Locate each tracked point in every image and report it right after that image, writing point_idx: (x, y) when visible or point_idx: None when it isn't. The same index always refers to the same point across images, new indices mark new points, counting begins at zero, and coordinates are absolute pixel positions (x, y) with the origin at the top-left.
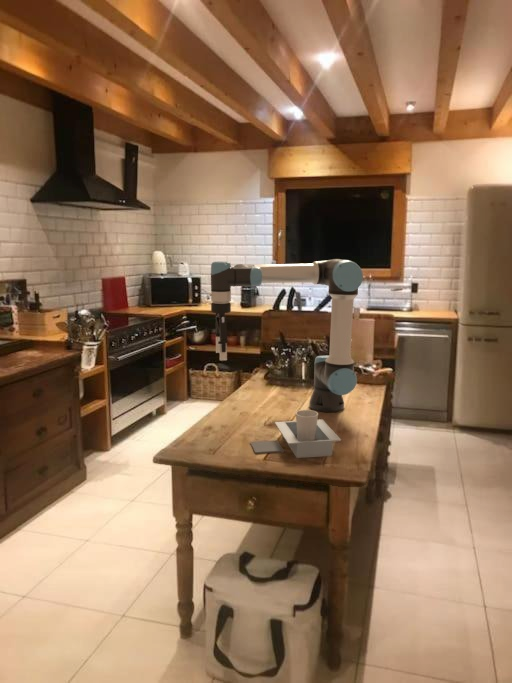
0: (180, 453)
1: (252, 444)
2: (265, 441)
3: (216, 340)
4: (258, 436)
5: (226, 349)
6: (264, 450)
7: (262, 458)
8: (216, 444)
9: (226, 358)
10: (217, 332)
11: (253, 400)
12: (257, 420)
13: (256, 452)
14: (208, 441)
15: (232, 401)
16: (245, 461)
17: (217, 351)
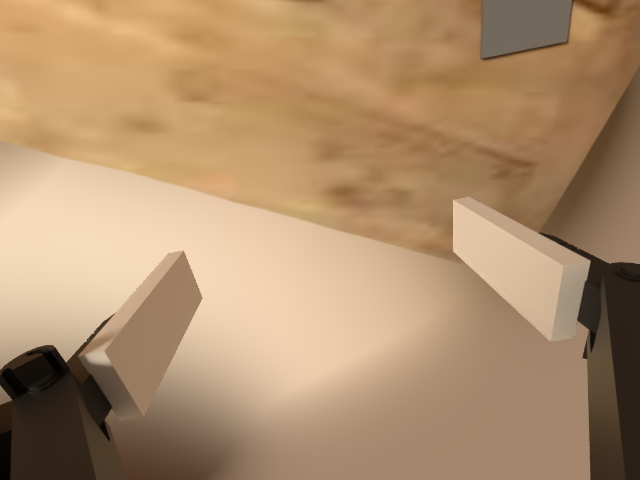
0: None
1: (506, 51)
2: (490, 1)
3: (159, 375)
4: (425, 28)
5: (531, 234)
6: (561, 8)
7: (600, 18)
8: (470, 162)
9: (476, 204)
10: (120, 469)
11: (10, 44)
12: (266, 29)
13: (567, 37)
14: (445, 185)
15: (57, 137)
16: (603, 74)
17: (195, 295)
